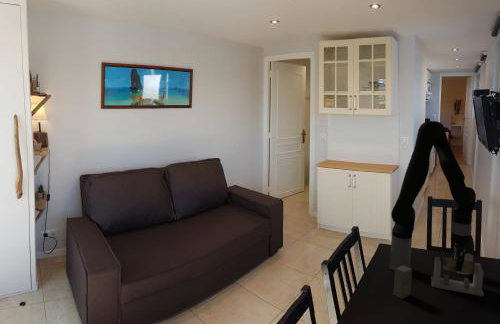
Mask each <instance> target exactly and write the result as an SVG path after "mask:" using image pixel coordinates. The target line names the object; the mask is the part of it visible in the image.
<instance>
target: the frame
mask: <svg viewBox="0 0 500 324" xmlns="http://www.w3.org/2000/svg"><path fill="white" fill-rule="evenodd" d="M474 263H475V275H474V274H473V278H472V283H471V282H470V279H469V277H463V281H461V280H455V279H450V277H449V274H443V275H444V276H443V278H442V277H441V269H442V263H441V257H439V256H434V263H433V265H434V266H433V275H431V276H430V283H431V284H430V285H431V287H432V288H437V289H442V290H447V291H452V292H459V293H464V294H469V295H473V296H478V295H479V296H478V297H483V296H485V295H484V291H483V282H484V281H483V279H484V270H483V268H482V264H481V263H477V262H474Z"/></svg>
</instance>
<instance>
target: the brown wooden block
mask: <svg viewBox="0 0 500 324" xmlns="http://www.w3.org/2000/svg"><path fill="white" fill-rule="evenodd" d="M454 258H455V257H454ZM454 258H453V257H447V256H443V257H442V268H443V270H444V271H452V272H454V271H456V259H454ZM459 260H460V261H461V259H459ZM475 263H476V262H475V261H474V260H473V261H467V260H464V263H463V264H462V271H456V272H462V273H468V274H471V275H473V276H474V275H475Z"/></svg>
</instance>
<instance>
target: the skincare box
mask: <svg viewBox="0 0 500 324" xmlns="http://www.w3.org/2000/svg"><path fill="white" fill-rule="evenodd" d="M412 275H413V268H411V267H410V268H409V267H406V266H404V265H403V266H400V267H398V268H395V271H394V282H393V295H394V296H396V297H397V298H400V299H405V298H406V297H407V298H408V297H409V296H411V292H412V291H411V289H412V279H413V278H412Z"/></svg>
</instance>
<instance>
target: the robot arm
mask: <svg viewBox="0 0 500 324" xmlns="http://www.w3.org/2000/svg"><path fill="white" fill-rule="evenodd" d="M433 147H434V149H435V151H436V154H437V157H438V161H439V166H440V168H441V172H442V173H443V175H444V177H445V179H446V181H447V183H448V188H449V191H450V195H451V197H452V199H453V201H454V202H455V203H456V204H457V205H456V208H455V209H454V211H453V215H452V216H453V218H452V219H453V220H452V225H451V232H450V233H451V235H450V241H451V242H452V243H454V246H453V249H454V250H453V253H454V258H455V259H456V271H462V264H463V263H464V257H465V246H464V245H468V244H470V241H471V235H472V230H473V229H472V228H473V227H472V220H473V211H474V208H475V204H476V200H477V195H476V191H475V190H474V189H473V188H472V187H470V186H467V185H466V182H465V179H466V178H465V175H464V173H463V170H462V168H461V167H460V164H459V162H458V161H457V158H456V156H455V155H454V152H453V149H452V148H451V144H450V142H449V139H448V136H447V132H446V129H445V126H444V124H443V123H441V122H439V121H437V120H430V121H429V120H427V121H424V122H423V123H421V125H420V126H419V128H418V130H417V134H416V140H415V144H414V149H413V151H412V154H411V156H410V159H409V162H408V165H407V166H406V167H407V168H406V170H405V174H404V177H403V180H402V184H401V186H400V191H399V195H398V197H397V200H396V202H395V204H394V206H393V208H392V210H391V214H390V215H391V219H392V221H393V223H394V225H393V227H392V230H391V242H390V243H391V244H390V252H389V268H388V269H389V270H392V271H393V272H395V268H398V267H400V266H403V265H404V266H406V267H409V268H411V256H412V255H411V254H412V242H413V241H412V240H413V233H414V230H415V222H416V210H415V208H414V204H415V201H416V198H417V197H418V195H419V194H420V192H421V190H422V189H423V187H424V186H425V183H426V180H427V177H428V174H429V172H430V160H431V157H430V156H431V152H432V149H433ZM459 259H461V261H460V260H459Z"/></svg>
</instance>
